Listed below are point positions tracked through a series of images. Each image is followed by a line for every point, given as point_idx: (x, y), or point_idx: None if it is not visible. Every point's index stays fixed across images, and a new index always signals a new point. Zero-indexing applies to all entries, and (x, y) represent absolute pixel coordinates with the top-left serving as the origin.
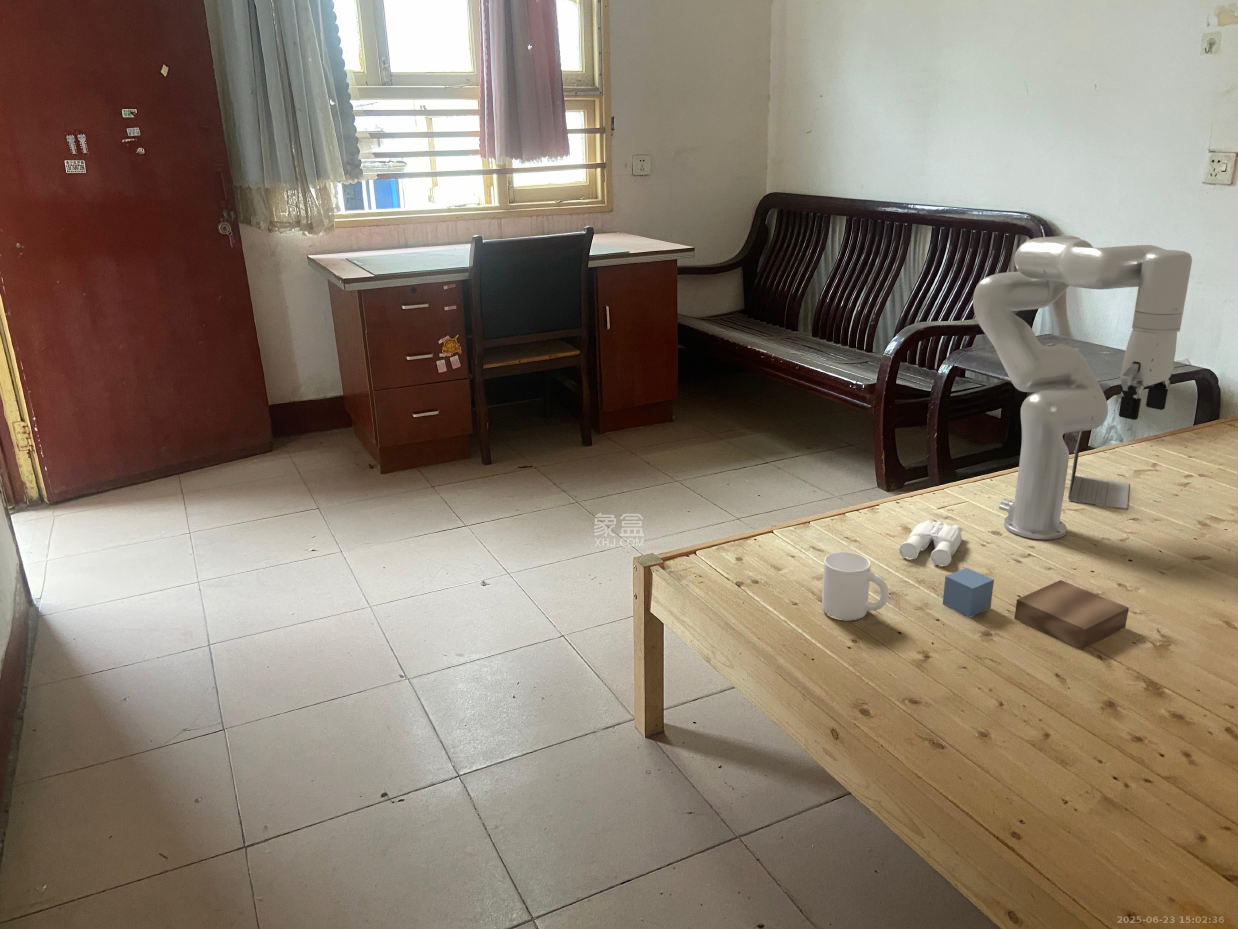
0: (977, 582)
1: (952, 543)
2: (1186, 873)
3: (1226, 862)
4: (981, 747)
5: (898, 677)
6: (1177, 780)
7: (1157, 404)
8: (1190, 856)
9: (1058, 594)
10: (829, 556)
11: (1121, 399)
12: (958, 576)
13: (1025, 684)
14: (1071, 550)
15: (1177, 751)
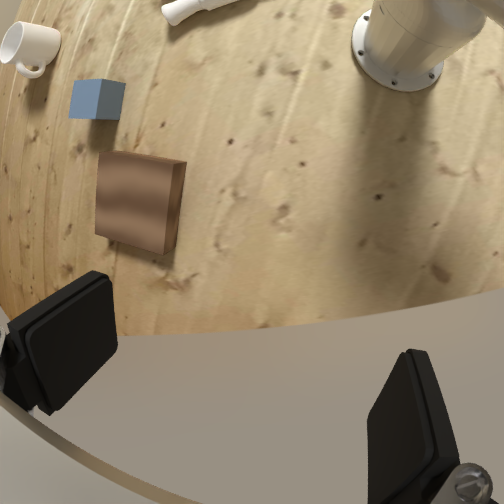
0: (80, 112)
1: (200, 2)
2: None
3: None
4: (5, 223)
5: (13, 144)
6: None
7: (380, 416)
8: None
9: (136, 180)
10: (14, 24)
11: (26, 312)
12: (80, 89)
13: (49, 213)
14: (357, 115)
15: None
